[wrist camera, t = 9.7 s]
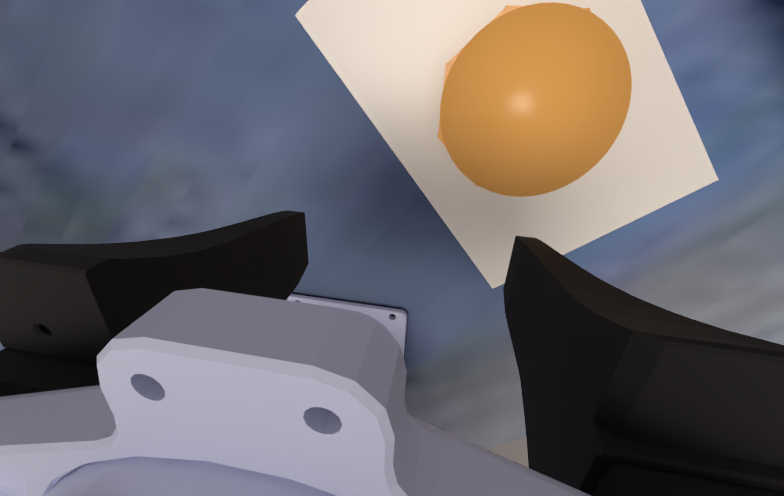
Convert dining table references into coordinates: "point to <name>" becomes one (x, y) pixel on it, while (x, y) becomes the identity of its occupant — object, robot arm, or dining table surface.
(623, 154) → the plate
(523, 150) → the cap
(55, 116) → the dining table surface
